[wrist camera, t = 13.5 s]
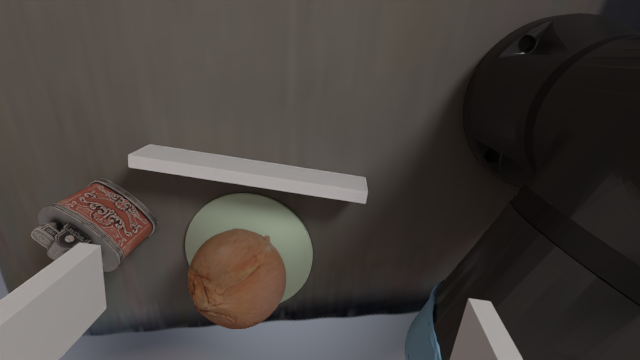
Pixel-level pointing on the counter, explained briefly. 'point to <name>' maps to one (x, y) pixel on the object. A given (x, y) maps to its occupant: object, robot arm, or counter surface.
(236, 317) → the onion
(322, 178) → the low wall
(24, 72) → the counter surface
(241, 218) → the pad
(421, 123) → the counter surface
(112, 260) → the lighter
